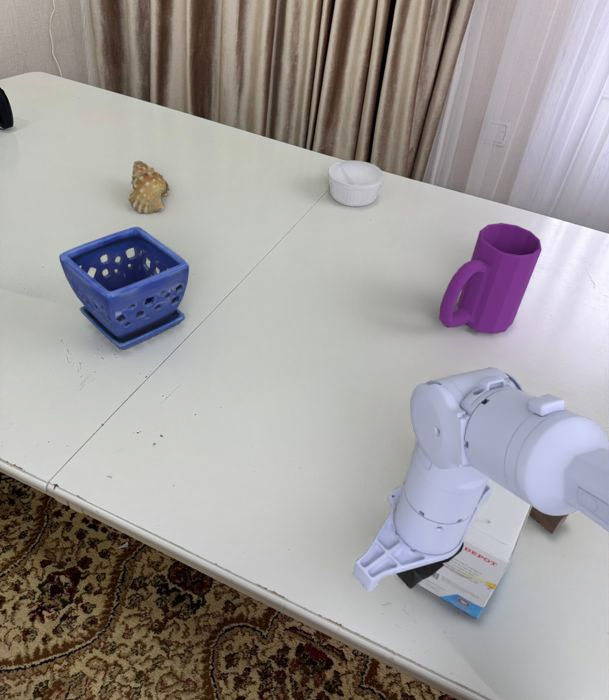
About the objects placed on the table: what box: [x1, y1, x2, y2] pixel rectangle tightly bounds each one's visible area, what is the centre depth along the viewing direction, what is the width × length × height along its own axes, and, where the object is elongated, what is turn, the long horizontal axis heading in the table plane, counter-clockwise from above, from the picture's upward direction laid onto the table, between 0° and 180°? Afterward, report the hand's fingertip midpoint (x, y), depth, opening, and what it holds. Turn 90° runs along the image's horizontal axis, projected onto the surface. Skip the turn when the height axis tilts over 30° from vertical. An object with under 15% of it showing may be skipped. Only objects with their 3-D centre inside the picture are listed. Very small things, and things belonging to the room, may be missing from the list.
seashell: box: [127, 160, 171, 215], centre depth 119 cm, size 9×8×10 cm
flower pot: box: [58, 226, 190, 351], centre depth 90 cm, size 13×13×12 cm
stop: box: [529, 506, 570, 535], centre depth 75 cm, size 12×2×3 cm, turn 38°
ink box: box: [417, 478, 532, 620], centre depth 64 cm, size 9×8×12 cm
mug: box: [438, 222, 542, 335], centre depth 94 cm, size 9×16×15 cm, turn 124°
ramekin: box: [327, 159, 385, 208], centre depth 126 cm, size 11×11×5 cm
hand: (407, 576), depth 57 cm, fingers closed
